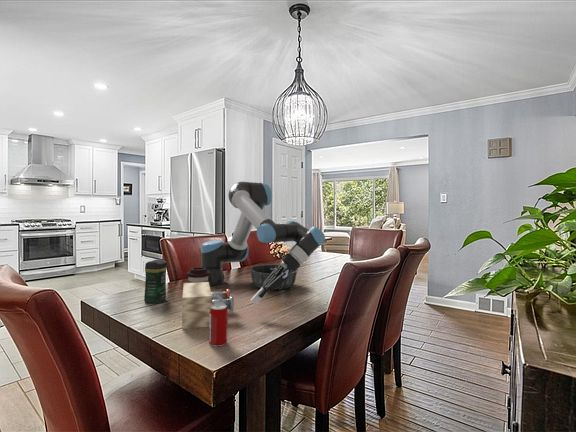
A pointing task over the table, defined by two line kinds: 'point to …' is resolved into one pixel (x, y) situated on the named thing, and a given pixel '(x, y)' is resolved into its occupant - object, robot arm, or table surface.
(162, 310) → the table surface
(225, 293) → the red plug
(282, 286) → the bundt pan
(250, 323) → the table surface
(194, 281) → the coffee cup
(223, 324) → the soda can
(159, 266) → the coffee jar
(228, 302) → the steel plug
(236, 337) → the table surface
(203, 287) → the block
